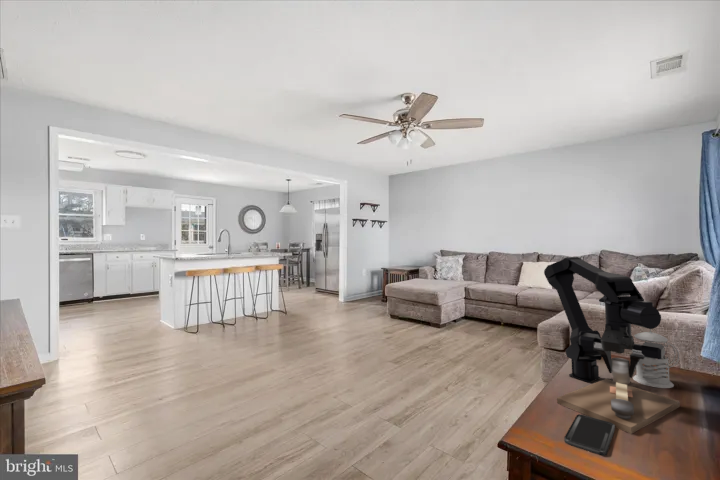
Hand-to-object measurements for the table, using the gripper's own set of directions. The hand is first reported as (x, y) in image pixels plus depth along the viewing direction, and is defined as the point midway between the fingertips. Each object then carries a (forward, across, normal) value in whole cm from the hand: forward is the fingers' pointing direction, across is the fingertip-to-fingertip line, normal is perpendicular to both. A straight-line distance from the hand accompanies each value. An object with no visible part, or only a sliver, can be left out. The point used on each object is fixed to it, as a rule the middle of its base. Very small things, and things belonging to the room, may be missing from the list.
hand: (620, 375), depth 95 cm
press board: (+6, 0, -6) cm, 9 cm away
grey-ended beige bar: (+4, +2, -8) cm, 9 cm away
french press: (+7, +4, +20) cm, 22 cm away
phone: (+7, 0, -27) cm, 28 cm away
